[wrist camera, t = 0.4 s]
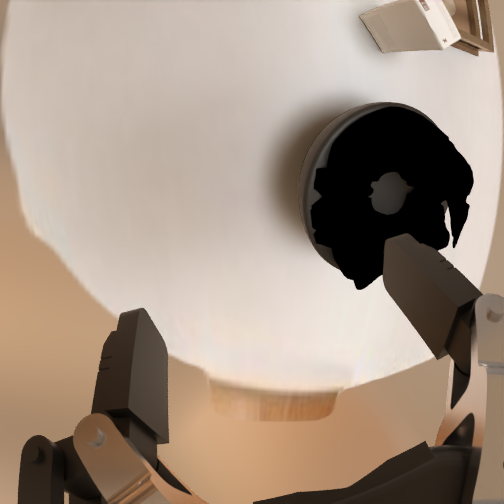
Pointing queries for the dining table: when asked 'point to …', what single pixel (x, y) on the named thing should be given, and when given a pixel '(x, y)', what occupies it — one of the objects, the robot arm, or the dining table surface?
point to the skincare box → (411, 26)
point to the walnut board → (459, 20)
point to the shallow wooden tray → (474, 37)
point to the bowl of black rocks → (381, 187)
